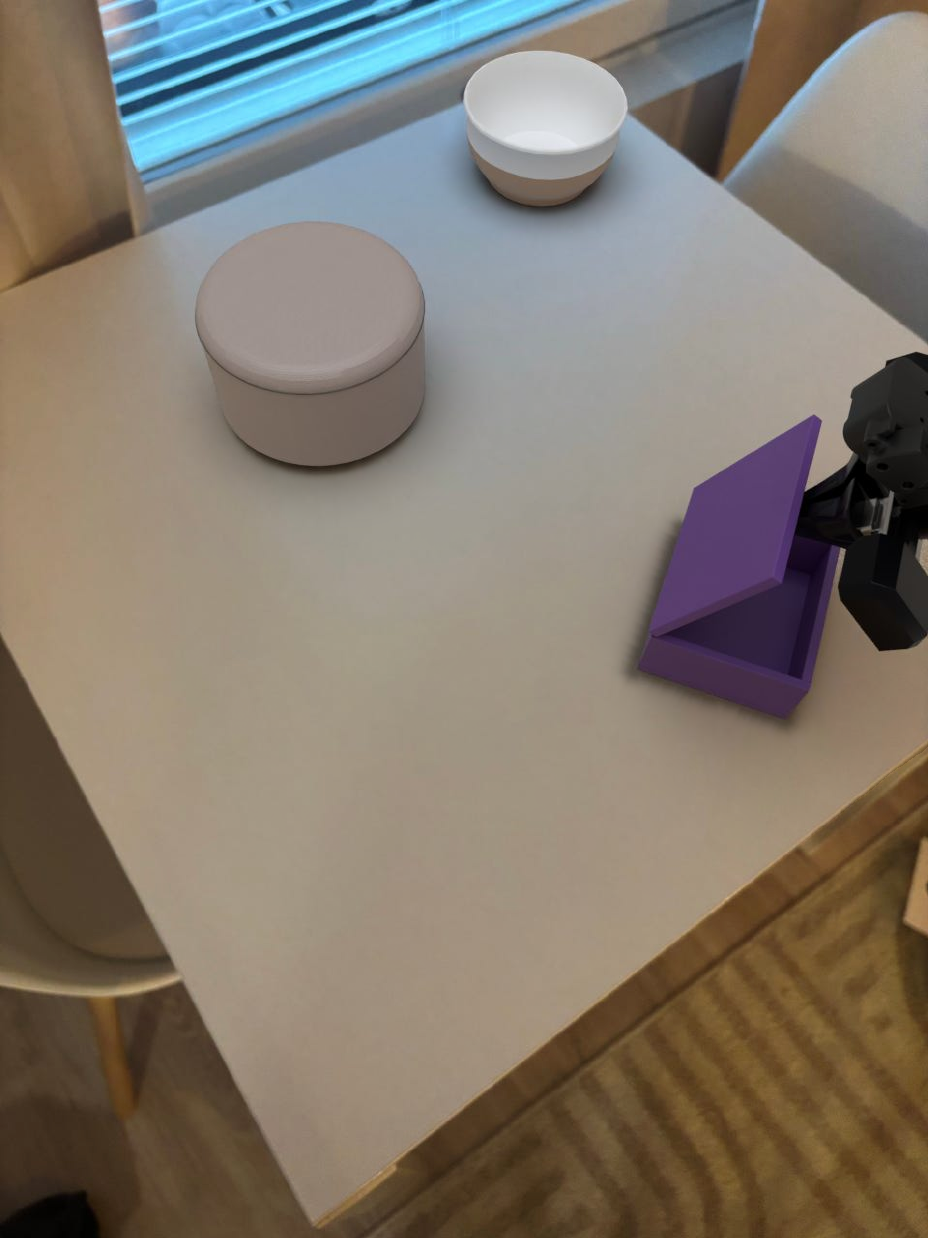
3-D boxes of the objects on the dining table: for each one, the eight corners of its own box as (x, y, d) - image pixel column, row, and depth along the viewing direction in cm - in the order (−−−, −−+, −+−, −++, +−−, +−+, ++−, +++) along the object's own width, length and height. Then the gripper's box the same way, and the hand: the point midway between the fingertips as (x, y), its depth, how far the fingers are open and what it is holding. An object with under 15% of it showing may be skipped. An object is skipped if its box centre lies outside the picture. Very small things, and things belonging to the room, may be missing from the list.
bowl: (485, 235, 93) (489, 163, 86) (443, 135, 101) (444, 61, 94) (636, 209, 96) (652, 137, 89) (585, 113, 103) (596, 39, 96)
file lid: (822, 420, 62) (814, 413, 62) (782, 583, 56) (772, 576, 56) (701, 493, 72) (693, 487, 72) (656, 637, 66) (647, 632, 66)
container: (180, 388, 83) (143, 283, 73) (338, 291, 89) (326, 182, 79) (307, 514, 77) (287, 420, 67) (468, 401, 83) (472, 299, 73)
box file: (818, 574, 76) (842, 539, 71) (785, 719, 70) (809, 691, 65) (680, 531, 77) (696, 493, 73) (636, 668, 71) (650, 637, 67)
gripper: (1004, 240, 51) (744, 335, 62) (965, 507, 42) (672, 560, 54) (1068, 384, 56) (819, 446, 68) (1045, 644, 48) (766, 665, 59)
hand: (773, 520), depth 62 cm, fingers closed, pressing on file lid
